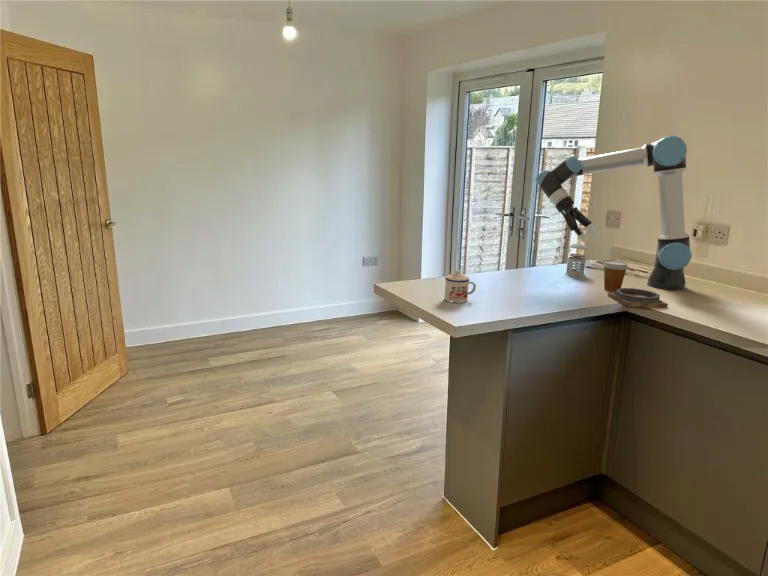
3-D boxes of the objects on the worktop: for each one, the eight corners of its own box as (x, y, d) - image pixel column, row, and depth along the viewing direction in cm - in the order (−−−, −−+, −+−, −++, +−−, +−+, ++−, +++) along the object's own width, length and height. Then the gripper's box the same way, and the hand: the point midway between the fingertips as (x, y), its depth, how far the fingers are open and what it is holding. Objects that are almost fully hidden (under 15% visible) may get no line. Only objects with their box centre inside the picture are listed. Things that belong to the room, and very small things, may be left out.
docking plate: (646, 296, 219) (647, 288, 218) (667, 307, 203) (668, 298, 203) (607, 295, 219) (609, 287, 218) (625, 306, 203) (626, 297, 202)
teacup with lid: (447, 303, 198) (449, 273, 196) (440, 297, 207) (442, 268, 204) (478, 303, 201) (480, 273, 198) (470, 297, 209) (472, 267, 207)
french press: (588, 277, 253) (595, 224, 247) (564, 276, 253) (570, 223, 247) (581, 273, 262) (588, 222, 256) (558, 272, 262) (563, 221, 256)
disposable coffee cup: (626, 293, 223) (630, 265, 220) (602, 292, 225) (606, 264, 222) (621, 288, 232) (625, 261, 229) (598, 286, 234) (601, 259, 231)
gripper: (565, 205, 247) (594, 241, 242) (543, 207, 229) (573, 247, 223) (578, 194, 243) (607, 231, 238) (557, 196, 224) (588, 236, 219)
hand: (591, 239), depth 230 cm, fingers open, 13 cm apart
